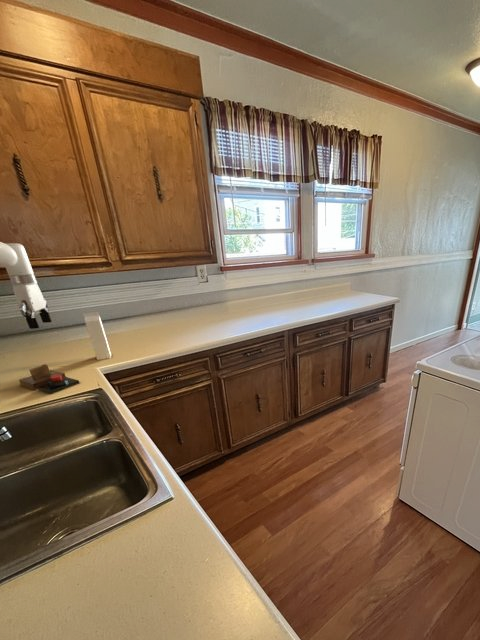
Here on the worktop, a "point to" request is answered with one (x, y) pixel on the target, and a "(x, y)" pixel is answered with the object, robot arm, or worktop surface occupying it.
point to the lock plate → (38, 380)
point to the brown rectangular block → (40, 371)
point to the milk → (97, 335)
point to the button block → (58, 385)
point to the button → (56, 378)
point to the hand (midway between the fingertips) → (41, 325)
